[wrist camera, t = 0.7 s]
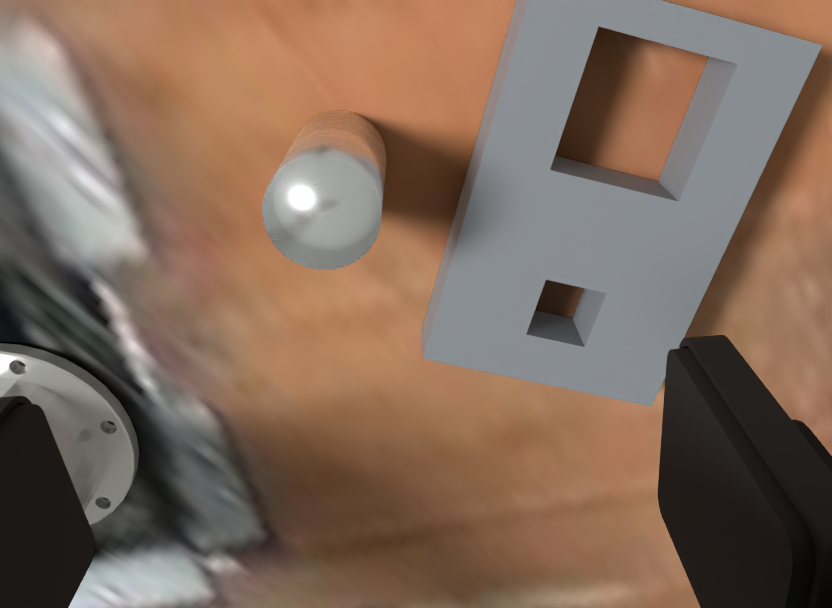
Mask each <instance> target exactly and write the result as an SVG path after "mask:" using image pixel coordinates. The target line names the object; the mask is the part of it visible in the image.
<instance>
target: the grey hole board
mask: <svg viewBox="0 0 832 608" xmlns="http://www.w3.org/2000/svg"><path fill="white" fill-rule="evenodd" d="M598 27H602V28H606V29H610V30H613V31H617V32H621V33H625V34H628V35H632V36H636V37H639V38H643V39H647V40H650V41H654V42H658V43H661V44H665V45H669V46H672V47H676V48H680V49H683V50H687V51H691V52H694V53H698V54H702V55H705V56H709V58H708V60H707V63H706V65H705V68H704V70H703V73H702V75H701V77H700V80H699V82H698V85H697V87H696V90H695V92H694V95H693V97H692V99H691V102H690V104H689V107H688V109H687V112H686V114H685V117H684V119H683V121H682V124H681V126H680V129H679V131H678V134H677V136H676V138H675V141H674V143H673V146H672V148H671V151H670V153H669V156H668V158H667V160H666V163H665V165H664V168H663V170H662V173H661V175H660V177H659V180H658V181H655V180H651V179H646V178H642V177H638V176H634V175H630V174H626V173H622V172H618V171H614V170H610V169H606V168H602V167H598V166H594V165H590V164H586V163H582V162H578V161H574V160H570V159H566V158H562V157H558V156H555V154H556V151H557V148H558V145H559V142H560V139H561V136H562V133H563V130H564V127H565V124H566V121H567V118H568V115H569V112H570V109H571V106H572V103H573V100H574V98H575V95H576V92H577V89H578V86H579V83H580V80H581V77H582V74H583V71H584V68H585V65H586V62H587V59H588V56H589V53H590V50H591V47H592V44H593V41H594V39H595V36H596V33H597V30H598ZM821 47H822V45H820V44H816V43H813V42H809V41H806V40H802V39H799V38H795V37H791V36H788V35H784V34H781V33H777V32H774V31H770V30H766V29H763V28H759V27H756V26H752V25H748V24H745V23H741V22H738V21H734V20H731V19H727V18H723V17H720V16H716V15H713V14H709V13H706V12H702V11H698V10H695V9H691V8H688V7H684V6H681V5H677V4H673V3H670V2H666V1H663V0H516V4H515V7H514V11H513V14H512V18H511V21H510V24H509V28H508V31H507V35H506V38H505V42H504V45H503V49H502V52H501V56H500V59H499V63H498V66H497V70H496V73H495V77H494V80H493V84H492V87H491V91H490V94H489V98H488V101H487V105H486V108H485V112H484V115H483V119H482V122H481V125H480V129H479V132H478V136H477V139H476V143H475V146H474V150H473V153H472V157H471V160H470V164H469V167H468V171H467V174H466V178H465V181H464V185H463V188H462V192H461V195H460V199H459V202H458V206H457V209H456V213H455V216H454V220H453V223H452V227H451V230H450V233H449V237H448V240H447V244H446V247H445V251H444V254H443V258H442V261H441V265H440V268H439V272H438V275H437V279H436V282H435V286H434V289H433V293H432V296H431V300H430V303H429V307H428V310H427V314H426V317H425V321H424V324H423V328H422V345H423V359H426V360H431V361H435V362H440V363H445V364H450V365H455V366H459V367H464V368H469V369H474V370H479V371H483V372H488V373H493V374H498V375H503V376H507V377H512V378H517V379H522V380H527V381H531V382H536V383H541V384H546V385H550V386H555V387H560V388H565V389H570V390H574V391H579V392H584V393H589V394H594V395H598V396H603V397H608V398H613V399H618V400H622V401H627V402H632V403H637V404H642V405H646V406H652V404H653V402H654V400H655V398H656V396H657V394H658V391H659V389H660V387H661V385H662V383H663V381H664V379H665V377H666V364H667V355H668V352H669V350H670V349H679V346H680V343H681V340H683V339H684V337H685V334H686V332H687V330H688V328H689V326H690V324H691V322H692V320H693V318H694V315H695V313H696V311H697V309H698V307H699V305H700V303H701V301H702V299H703V296H704V294H705V292H706V290H707V288H708V286H709V284H710V282H711V280H712V277H713V275H714V273H715V271H716V269H717V267H718V265H719V263H720V261H721V258H722V256H723V254H724V252H725V250H726V248H727V246H728V244H729V242H730V239H731V237H732V235H733V233H734V231H735V229H736V227H737V225H738V223H739V220H740V218H741V216H742V214H743V212H744V210H745V208H746V206H747V204H748V201H749V199H750V197H751V195H752V193H753V191H754V189H755V187H756V185H757V182H758V180H759V178H760V176H761V174H762V172H763V170H764V168H765V165H766V163H767V161H768V159H769V157H770V155H771V153H772V151H773V149H774V146H775V144H776V142H777V140H778V138H779V136H780V134H781V132H782V130H783V127H784V125H785V123H786V121H787V119H788V117H789V115H790V113H791V111H792V108H793V106H794V104H795V102H796V100H797V98H798V96H799V94H800V92H801V89H802V87H803V85H804V83H805V81H806V79H807V77H808V75H809V73H810V70H811V68H812V66H813V64H814V62H815V60H816V58H817V56H818V54H819V51H820V49H821ZM546 280H550V281H554V282H559V283H563V284H568V285H572V286H576V287H581V288H584V290H583V292H582V295H581V298H580V300H579V303H578V305H577V308H576V310H575V313H574V315H573V318H568V317H564V316H559V315H555V314H550V313H546V312H541V311H537V310H535V309H536V306H537V303H538V300H539V298H540V295H541V292H542V289H543V286H544V284H545V281H546Z"/></svg>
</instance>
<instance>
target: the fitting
mask: <svg viewBox="0 0 832 608" xmlns="http://www.w3.org/2000/svg"><path fill="white" fill-rule="evenodd" d="M386 161H387V155H386V148H385V144H384V142H383V139H382V137H381V135H380V133H379V132H378V131H377V129H376V128H375V127H374V126H373V125H372V124H371V123H370V122H369V121H368V120H366V119H365V118H363V117H362V116H360V115H358V114H356V113H352V112H349V111H344V110H332V111H326V112H323V113H320V114H318V115H316V116H314V117H313V118H311V119H310V120H308V121H307V122H306V123H305V124H304V125H303V127H302V128H301V129H300V131H299V133H298V134H297V136H296V138H295V140H294V141H293V143H292V145H291V147H290V149H289V150H288V152H287V154H286V156H285V157H284V159H283V161H282V163H281V165H280V166H279V168H278V170H277V172H276V173H275V175H274V177H273V179H272V181H271V182H270V184H269V186H268V188H267V190H266V193H265V195H264V199H263V206H262V216H263V222H264V226H265V229H266V232H267V234H268V236H269V238H270V239H271V241H272V242H273V244H274V245H275V246H276V248H277V249H278V250H279V251H280V252H281V253H282V254H283V255H285V256H286V257H287V258H289V259H290V260H292V261H294V262H295V263H297V264H300V265H302V266H305V267H308V268H313V269H319V270H329V269H337V268H341V267H344V266H347V265H349V264H352V263H354V262H355V261H357V260H358V259H360V258H361V257H362V256H363V255H365V254H366V253H367V251H368V250H369V249H370V248H371V246H372V245H373V243H374V242H375V240H376V238H377V236H378V232H379V229H380V224H381V214H382V204H383V194H384V183H385V173H386Z"/></svg>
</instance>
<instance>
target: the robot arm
mask: <svg viewBox="0 0 832 608" xmlns="http://www.w3.org/2000/svg"><path fill="white" fill-rule="evenodd" d="M138 461H139V448H138V441H137V435H136V433H135V430H134V427H133V425H132V422H131V419H130V417H129V416H128V414H127V413H126V411H125V410H124V408H123V406H122V405H121V403H120V402H119V400H118V399H117V398H116V397H115V396H114V395H113V394H112V393H111V392H110V391H109V389H108V388H107V387H106V386H105V385H104V384H102V383H101V382H100V381H99V380H97V379H96V378H95V377H94V376H92V375H91V374H90V373H89V372H87V371H86V370H84V369H82V368H80V367H79V366H77V365H75V364H74V363H72V362H70V361H68V360H67V359H64V358H62V357H59V356H57V355H54V354H52V353H49V352H47V351H44V350H40V349H36V348H32V347H27V346H23V345H16V344H4V343H0V608H68V607H69V605H70V603H71V601H72V599H73V597H74V595H75V593H76V591H77V589H78V587H79V585H80V583H81V581H82V580H83V578H84V576H85V574H86V572H87V570H88V568H89V566H90V564H91V562H92V559H93V557H94V552H95V539H94V535H93V532H92V530H91V527H90V525H92V524H95V523H97V522H99V521H100V520H102V519H103V518H105V517H106V516H108V515H109V514H110V513H112V512H113V511H114V510H115V509H116V508H117V506H118V505H119V504H120V503H121V502H122V501H123V500H124V498H125V496H126V494H127V492H128V491H129V489H130V487H131V485H132V483H133V480H134V478H135V475H136V472H137V469H138ZM658 501H659V507H660V511H661V515H662V518H663V520H664V522H665V525H666V527H667V529H668V532H669V534H670V537H671V539H672V541H673V544H674V546H675V548H676V551H677V553H678V555H679V558H680V560H681V562H682V565H683V567H684V569H685V572H686V574H687V576H688V579H689V581H690V583H691V586H692V588H693V590H694V593H695V595H696V598H697V600H698V602H699V605H700V607H701V608H832V456H831V455H830V454H829V452H828V451H827V450H826V449H825V447H824V446H823V445H822V444H821V442H820V441H819V440H818V439H817V437H816V436H815V435H814V434H813V432H812V431H811V430H810V429H809V428H808V427H807V426H806V425H805V424H804V423H803V422H801V421H798V420H791V419H790V418H789V416H788V415H787V414H786V412H785V411H784V410H783V408H782V407H781V406H780V405H779V403H778V402H777V401H776V399H775V398H774V397H773V396H772V394H771V393H770V392H769V390H768V389H767V388H766V387H765V385H764V384H763V383H762V381H761V380H760V379H759V378H758V376H757V375H756V374H755V372H754V371H753V370H752V369H751V367H750V366H749V365H748V363H747V362H746V361H745V360H744V358H743V357H742V356H741V354H740V353H739V352H738V351H737V349H736V348H735V347H734V345H733V344H732V343H731V342H730V340H729V339H728V338H727V337H726V336H725V335H715V336H704V337H692V338H684V339H683V340H681V343H680V346H679V349H670V350H669V352H668V355H667V364H666V378H665V393H664V408H663V423H662V437H661V452H660V467H659V482H658Z"/></svg>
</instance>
